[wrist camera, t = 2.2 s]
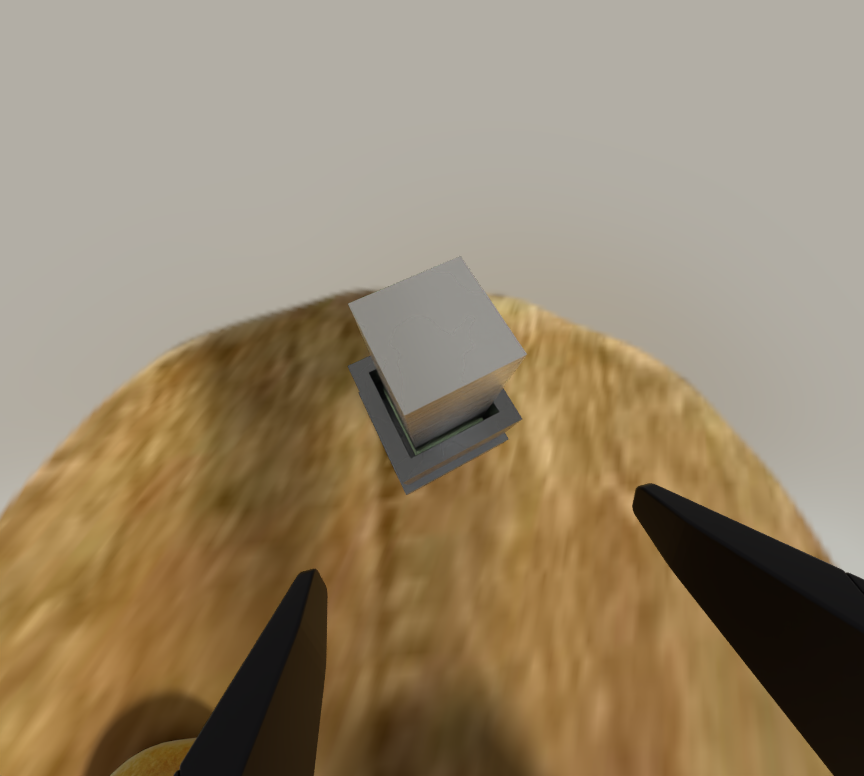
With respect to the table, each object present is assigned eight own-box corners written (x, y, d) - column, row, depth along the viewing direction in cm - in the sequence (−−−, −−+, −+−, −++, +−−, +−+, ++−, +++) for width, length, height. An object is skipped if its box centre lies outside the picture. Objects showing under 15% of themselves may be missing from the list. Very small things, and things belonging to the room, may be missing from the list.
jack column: (476, 428, 20) (531, 355, 9) (417, 459, 19) (402, 420, 8) (445, 372, 21) (461, 252, 10) (388, 400, 20) (343, 302, 10)
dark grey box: (501, 443, 22) (533, 422, 15) (408, 494, 20) (398, 495, 14) (451, 358, 24) (460, 306, 17) (364, 401, 22) (337, 362, 16)
